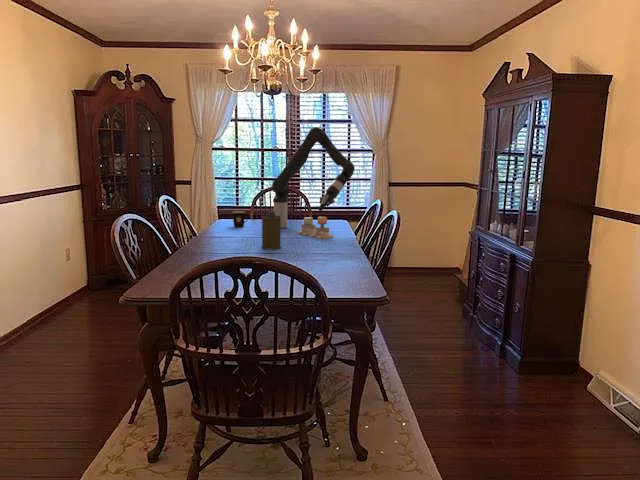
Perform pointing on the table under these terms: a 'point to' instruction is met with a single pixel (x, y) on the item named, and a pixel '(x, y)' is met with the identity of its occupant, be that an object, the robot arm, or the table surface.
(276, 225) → the canister
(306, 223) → the pale green rounded knob
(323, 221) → the brown rounded piece
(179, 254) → the table surface
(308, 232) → the button board
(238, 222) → the coffee mug
